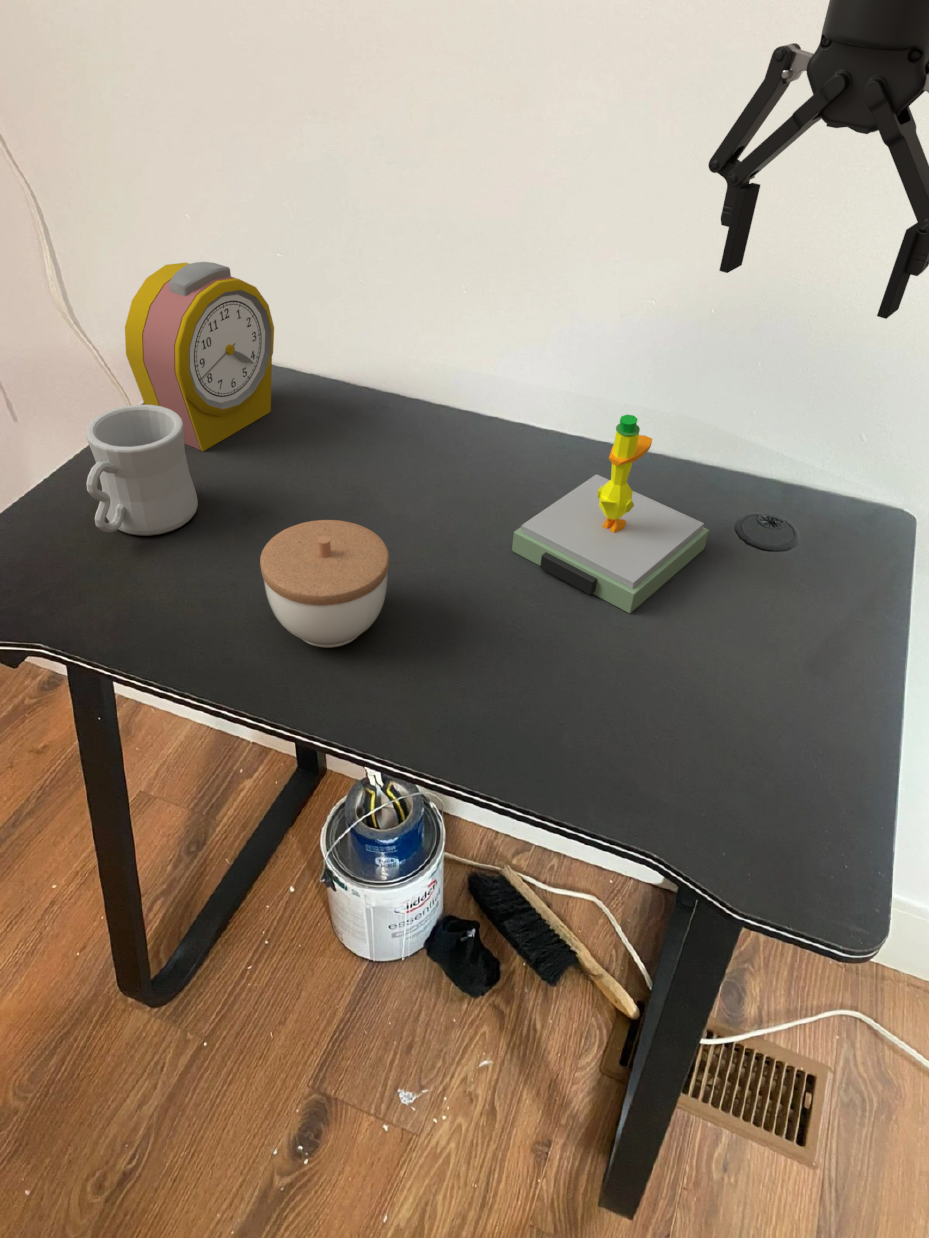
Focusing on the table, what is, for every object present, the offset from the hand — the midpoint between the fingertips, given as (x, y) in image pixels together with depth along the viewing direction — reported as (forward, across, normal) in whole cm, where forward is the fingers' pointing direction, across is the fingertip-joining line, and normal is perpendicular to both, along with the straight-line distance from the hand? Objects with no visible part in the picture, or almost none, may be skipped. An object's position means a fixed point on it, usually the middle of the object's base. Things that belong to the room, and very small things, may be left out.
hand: (805, 290), depth 75 cm
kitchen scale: (+27, -10, -8) cm, 30 cm away
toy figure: (+24, -9, -8) cm, 27 cm away
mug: (+27, -47, -36) cm, 65 cm away
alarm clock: (+27, -58, -18) cm, 66 cm away
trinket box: (+27, -22, -34) cm, 49 cm away
